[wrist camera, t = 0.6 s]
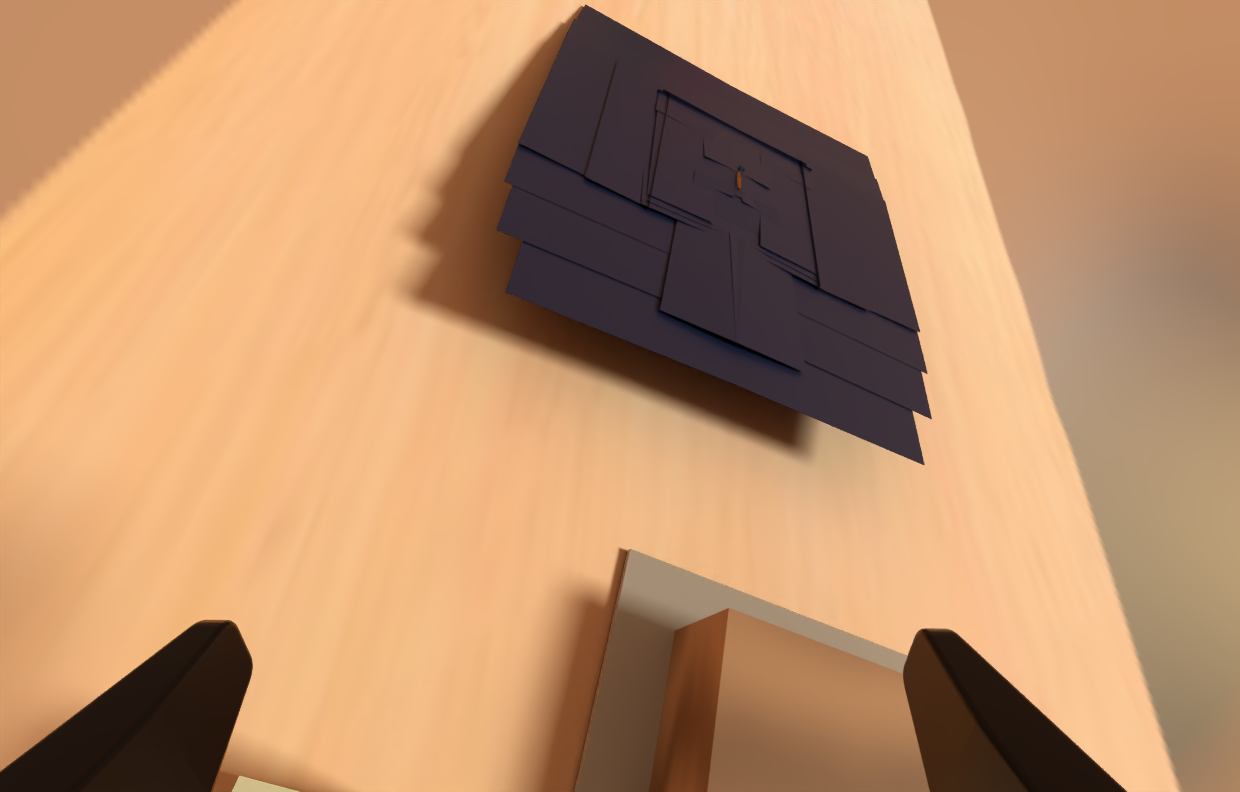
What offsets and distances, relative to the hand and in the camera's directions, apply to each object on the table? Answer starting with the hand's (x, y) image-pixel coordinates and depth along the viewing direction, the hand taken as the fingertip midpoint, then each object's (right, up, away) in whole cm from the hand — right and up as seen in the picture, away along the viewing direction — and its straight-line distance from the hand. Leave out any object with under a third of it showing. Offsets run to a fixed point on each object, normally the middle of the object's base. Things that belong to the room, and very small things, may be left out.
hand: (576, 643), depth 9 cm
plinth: (+6, -11, +15) cm, 20 cm away
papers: (+6, +14, +31) cm, 35 cm away
